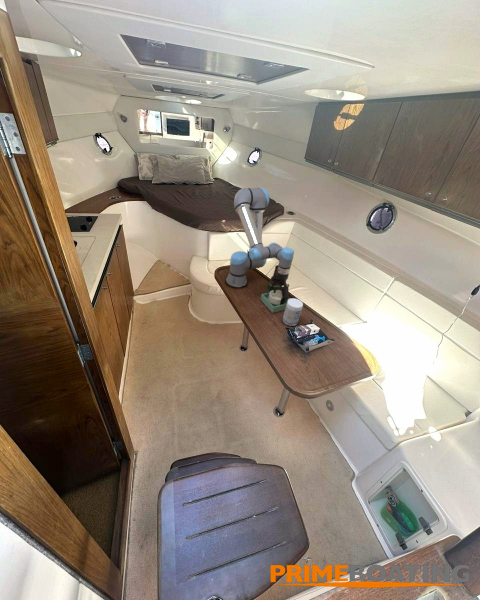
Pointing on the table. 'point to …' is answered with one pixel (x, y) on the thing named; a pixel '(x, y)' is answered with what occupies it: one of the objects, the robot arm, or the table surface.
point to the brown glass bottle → (273, 282)
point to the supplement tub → (292, 312)
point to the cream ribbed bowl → (275, 297)
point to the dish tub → (271, 306)
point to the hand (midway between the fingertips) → (276, 300)
